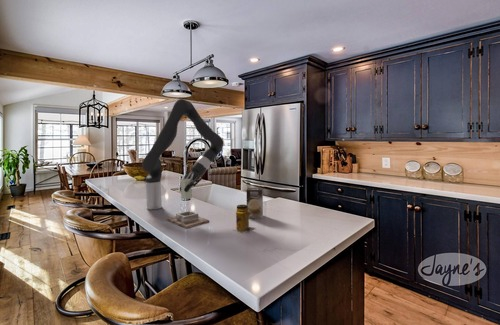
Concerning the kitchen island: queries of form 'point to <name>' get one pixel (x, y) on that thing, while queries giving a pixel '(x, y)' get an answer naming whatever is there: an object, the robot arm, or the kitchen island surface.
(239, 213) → the condiment
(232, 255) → the kitchen island surface
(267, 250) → the kitchen island surface
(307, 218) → the kitchen island surface
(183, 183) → the post
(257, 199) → the coffee box
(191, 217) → the board
